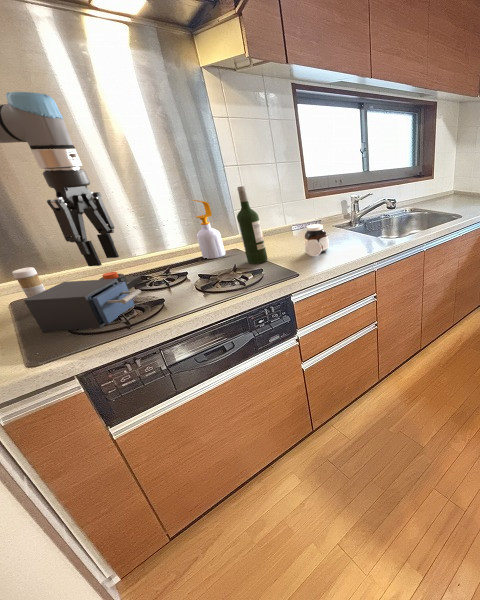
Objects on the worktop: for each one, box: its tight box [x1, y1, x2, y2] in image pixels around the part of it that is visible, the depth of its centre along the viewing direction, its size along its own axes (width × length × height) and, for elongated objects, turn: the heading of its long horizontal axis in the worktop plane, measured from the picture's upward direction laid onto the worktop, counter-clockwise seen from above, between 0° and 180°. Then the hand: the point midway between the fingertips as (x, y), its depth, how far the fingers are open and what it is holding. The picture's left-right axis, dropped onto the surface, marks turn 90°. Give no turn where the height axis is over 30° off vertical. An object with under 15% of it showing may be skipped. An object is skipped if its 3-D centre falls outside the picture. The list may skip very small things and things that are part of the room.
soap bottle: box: [192, 199, 226, 260], centre depth 139 cm, size 9×9×25 cm
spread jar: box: [303, 223, 330, 257], centre depth 143 cm, size 12×11×12 cm
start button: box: [101, 271, 119, 279], centre depth 112 cm, size 4×4×2 cm
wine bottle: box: [236, 185, 268, 265], centre depth 130 cm, size 8×8×30 cm
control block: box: [98, 273, 143, 291], centre depth 113 cm, size 12×10×4 cm
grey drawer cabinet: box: [23, 279, 119, 333], centre depth 91 cm, size 15×13×10 cm
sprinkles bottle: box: [11, 266, 47, 299], centre depth 96 cm, size 5×5×14 cm
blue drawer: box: [88, 282, 142, 325], centre depth 92 cm, size 18×11×8 cm, turn 96°
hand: (104, 261), depth 87 cm, fingers open, 6 cm apart
